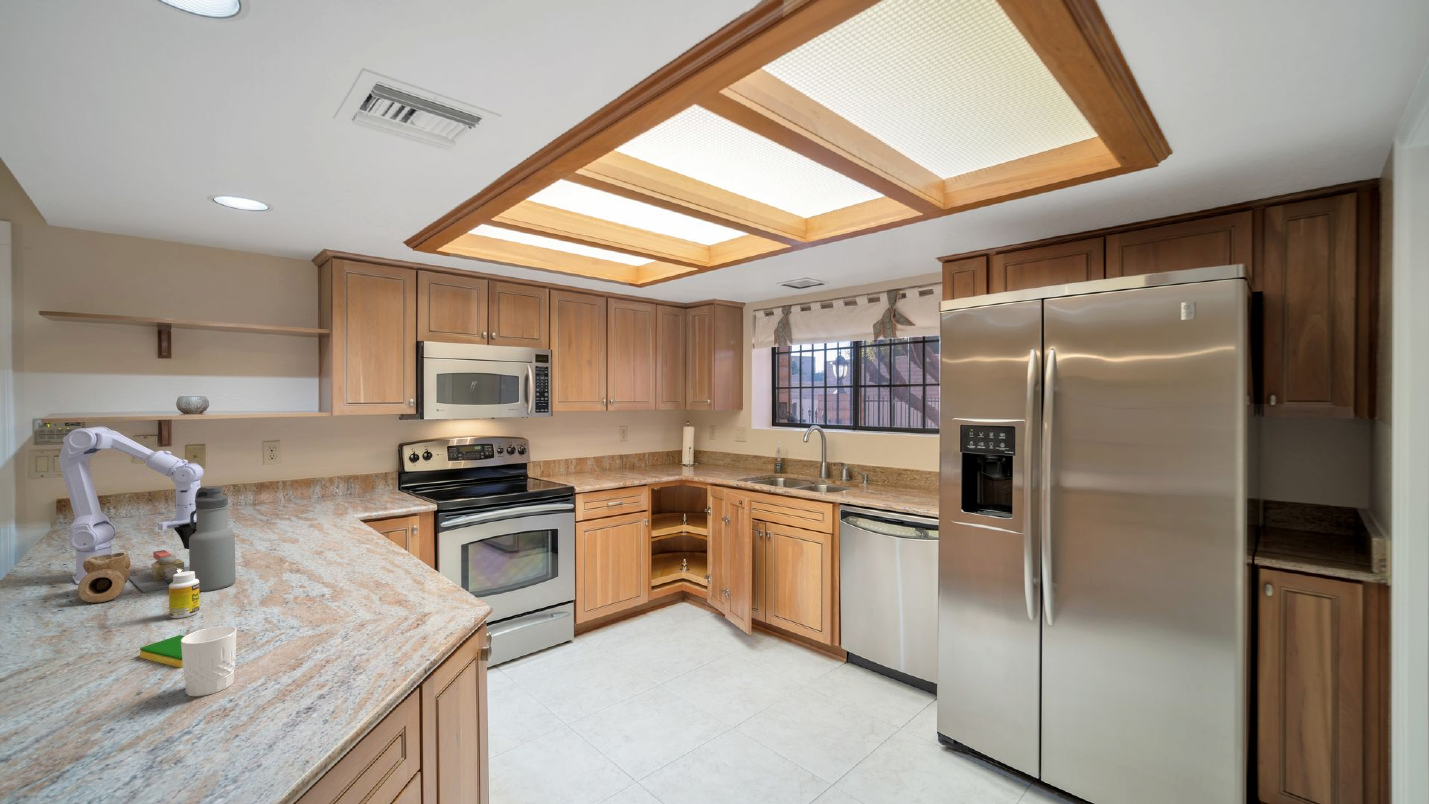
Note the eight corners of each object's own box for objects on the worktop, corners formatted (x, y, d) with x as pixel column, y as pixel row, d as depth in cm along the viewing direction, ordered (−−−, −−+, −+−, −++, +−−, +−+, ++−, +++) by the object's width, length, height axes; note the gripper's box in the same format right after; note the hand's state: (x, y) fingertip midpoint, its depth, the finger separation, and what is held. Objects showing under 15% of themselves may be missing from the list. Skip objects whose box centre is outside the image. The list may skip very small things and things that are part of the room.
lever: (177, 562, 173) (177, 556, 172) (161, 565, 170) (161, 558, 170) (166, 555, 179) (166, 549, 179) (150, 558, 176) (150, 552, 176)
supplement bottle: (195, 616, 144) (194, 575, 143) (165, 620, 141) (164, 578, 141) (203, 609, 149) (202, 568, 148) (174, 612, 146) (173, 571, 146)
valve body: (148, 576, 174) (148, 560, 174) (175, 571, 179) (175, 556, 179) (161, 587, 164) (161, 571, 164) (189, 582, 169) (189, 566, 169)
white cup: (204, 678, 113) (203, 626, 113) (247, 676, 114) (246, 625, 114) (170, 699, 106) (168, 644, 105) (217, 697, 106) (216, 642, 106)
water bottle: (182, 588, 164) (180, 488, 163) (224, 578, 172) (222, 483, 172) (200, 594, 159) (198, 491, 158) (242, 584, 167) (240, 485, 167)
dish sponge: (179, 645, 129) (179, 634, 129) (222, 654, 124) (222, 643, 124) (139, 659, 122) (138, 647, 122) (182, 669, 118) (182, 657, 117)
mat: (128, 578, 172) (128, 577, 172) (204, 564, 186) (204, 563, 186) (143, 593, 160) (143, 591, 160) (222, 577, 174) (222, 575, 174)
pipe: (75, 608, 149) (74, 569, 149) (86, 591, 162) (86, 554, 162) (126, 600, 155) (125, 562, 155) (133, 584, 168) (132, 549, 167)
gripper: (169, 509, 171) (170, 555, 172) (223, 500, 185) (224, 543, 185) (152, 507, 173) (153, 553, 174) (208, 499, 187) (208, 541, 188)
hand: (189, 548), depth 180 cm, fingers closed
